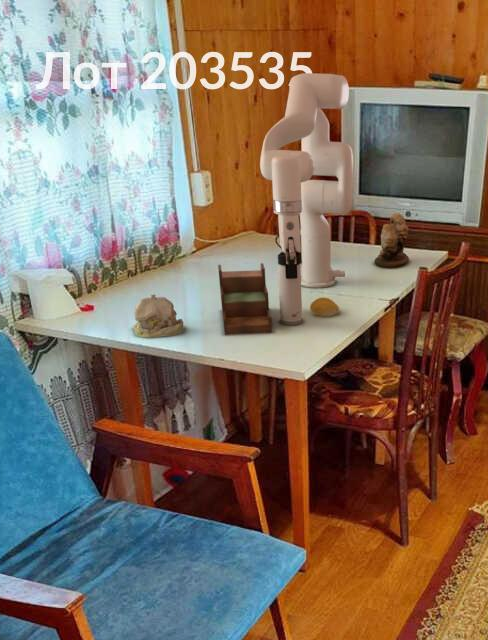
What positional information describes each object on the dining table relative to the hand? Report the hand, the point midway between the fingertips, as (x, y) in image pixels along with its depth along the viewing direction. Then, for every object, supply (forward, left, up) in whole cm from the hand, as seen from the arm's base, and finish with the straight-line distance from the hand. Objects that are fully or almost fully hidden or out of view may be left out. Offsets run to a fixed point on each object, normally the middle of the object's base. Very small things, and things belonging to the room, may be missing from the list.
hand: (290, 274), depth 206 cm
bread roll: (-10, -7, -14) cm, 19 cm away
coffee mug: (-8, -67, -14) cm, 69 cm away
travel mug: (0, 0, -14) cm, 14 cm away
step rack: (+13, -2, -14) cm, 19 cm away
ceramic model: (+38, +2, -14) cm, 40 cm away
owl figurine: (-43, -60, -14) cm, 75 cm away
